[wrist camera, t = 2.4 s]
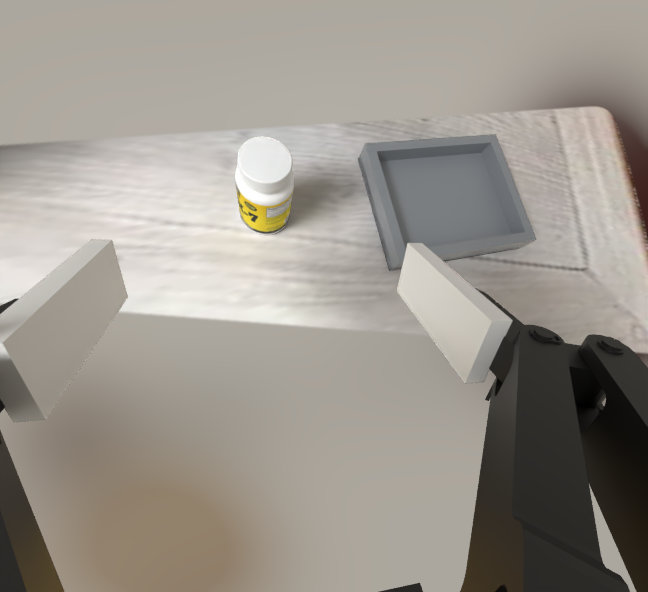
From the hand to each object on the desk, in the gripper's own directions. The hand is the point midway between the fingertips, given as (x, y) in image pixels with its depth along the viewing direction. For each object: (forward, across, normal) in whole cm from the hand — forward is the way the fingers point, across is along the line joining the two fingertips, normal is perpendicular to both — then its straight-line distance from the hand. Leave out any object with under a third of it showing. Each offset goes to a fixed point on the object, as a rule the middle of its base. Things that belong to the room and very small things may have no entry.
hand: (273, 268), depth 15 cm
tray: (+19, +19, -2) cm, 27 cm away
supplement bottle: (+18, 0, -3) cm, 18 cm away
